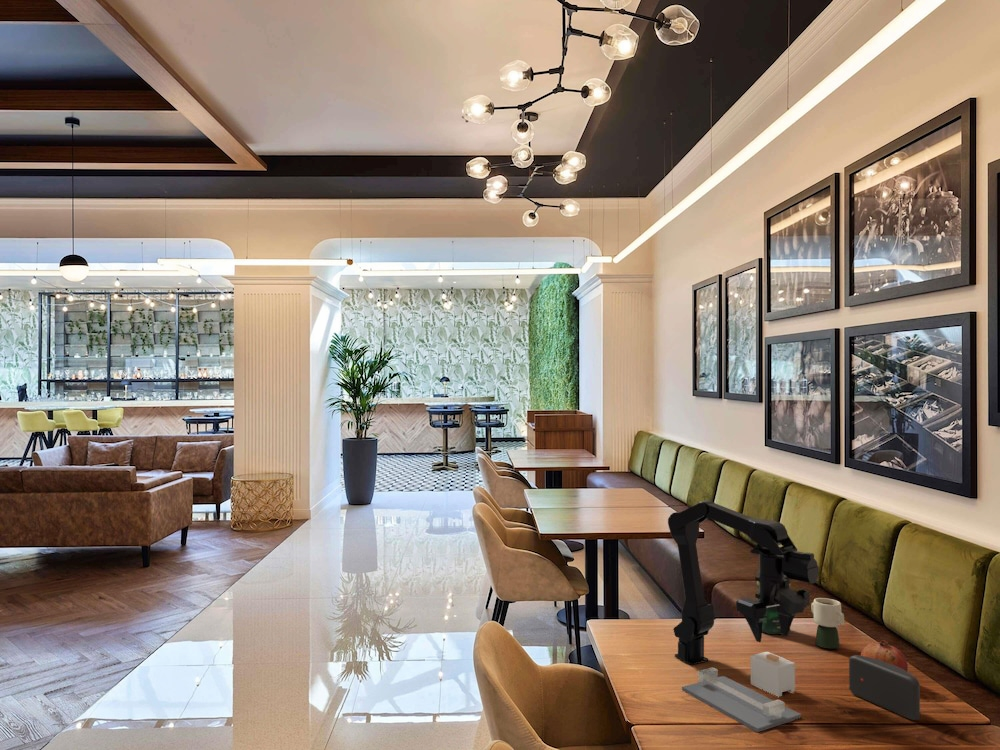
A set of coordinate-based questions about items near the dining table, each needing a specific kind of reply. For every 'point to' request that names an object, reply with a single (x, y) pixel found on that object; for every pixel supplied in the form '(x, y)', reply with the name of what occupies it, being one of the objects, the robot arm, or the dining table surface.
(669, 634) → the dining table surface
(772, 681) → the block
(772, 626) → the coffee jar
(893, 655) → the fruit
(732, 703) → the mounting plate
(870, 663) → the dark grey smartphone
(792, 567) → the robot arm
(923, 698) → the dining table surface
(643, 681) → the dining table surface
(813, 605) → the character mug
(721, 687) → the DIN rail
